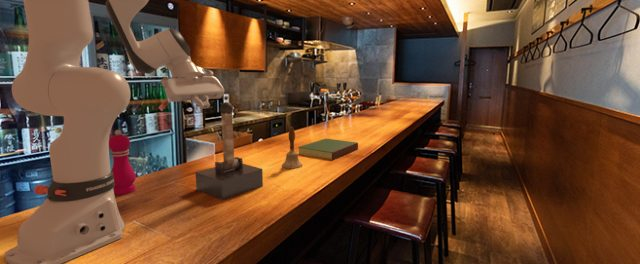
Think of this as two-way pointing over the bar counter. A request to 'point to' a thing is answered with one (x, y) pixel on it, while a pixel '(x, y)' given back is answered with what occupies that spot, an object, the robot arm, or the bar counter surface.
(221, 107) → the lever
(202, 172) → the base
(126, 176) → the pepper mill
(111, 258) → the bar counter surface
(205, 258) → the bar counter surface
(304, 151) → the hardcover book
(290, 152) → the hand bell
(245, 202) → the bar counter surface
